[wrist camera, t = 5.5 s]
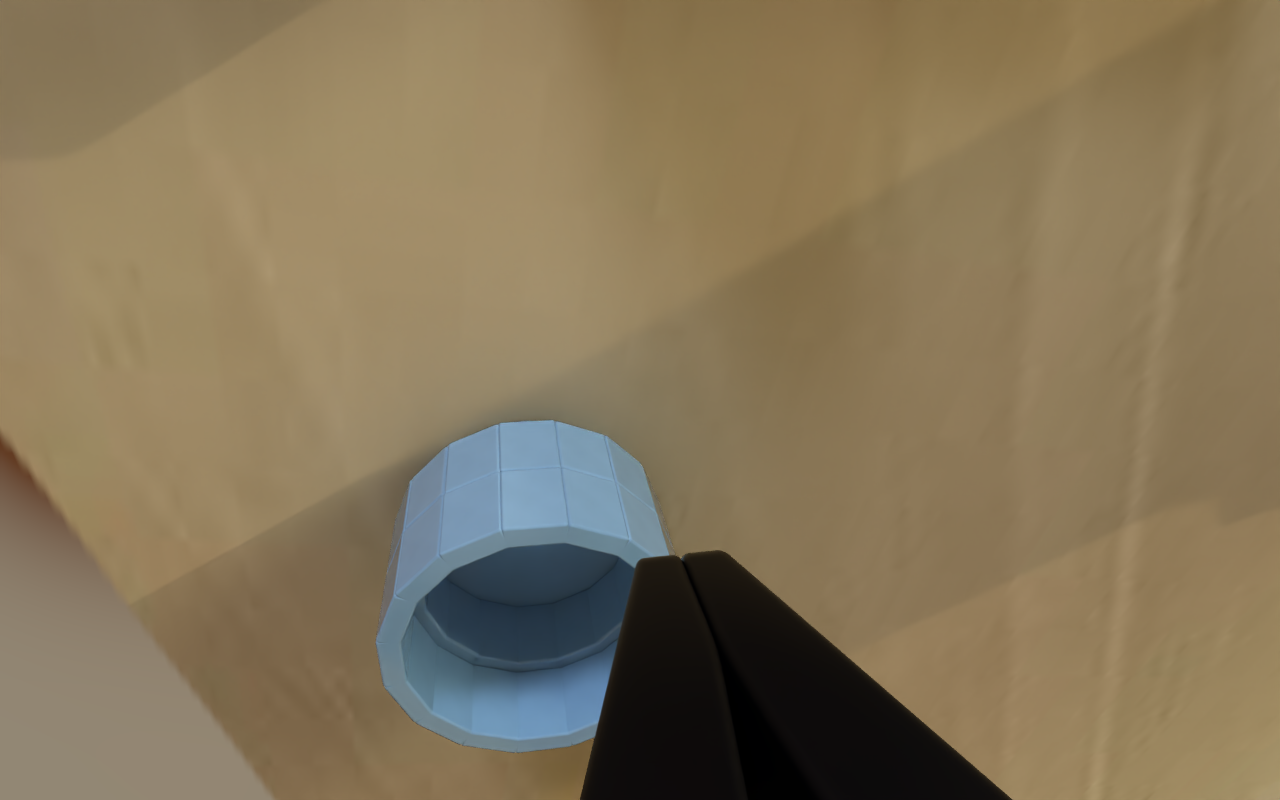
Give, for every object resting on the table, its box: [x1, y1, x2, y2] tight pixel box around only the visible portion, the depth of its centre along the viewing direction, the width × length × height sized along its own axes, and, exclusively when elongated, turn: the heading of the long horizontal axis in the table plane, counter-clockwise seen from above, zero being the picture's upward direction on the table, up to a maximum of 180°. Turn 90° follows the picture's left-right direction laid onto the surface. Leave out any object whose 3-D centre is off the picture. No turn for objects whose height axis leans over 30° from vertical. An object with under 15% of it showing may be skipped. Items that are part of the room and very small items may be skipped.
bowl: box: [376, 420, 675, 753], centre depth 19 cm, size 7×7×4 cm
